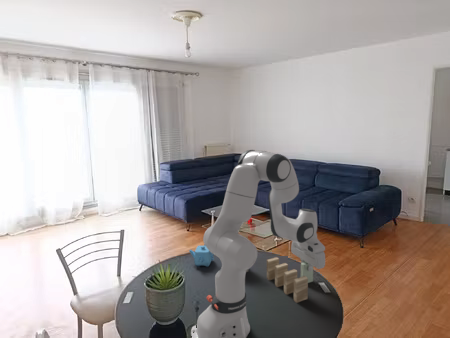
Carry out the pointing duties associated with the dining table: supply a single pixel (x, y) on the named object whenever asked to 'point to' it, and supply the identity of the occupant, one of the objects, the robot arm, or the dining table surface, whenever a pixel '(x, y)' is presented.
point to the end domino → (306, 271)
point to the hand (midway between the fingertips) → (306, 269)
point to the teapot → (202, 256)
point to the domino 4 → (300, 289)
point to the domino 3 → (289, 281)
